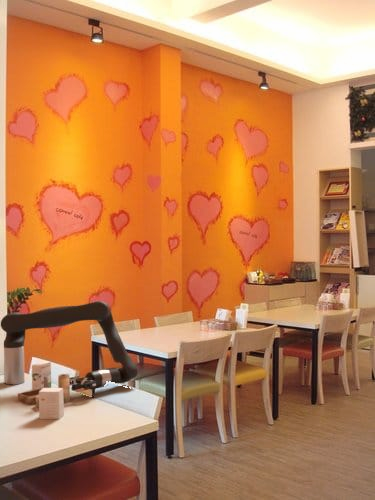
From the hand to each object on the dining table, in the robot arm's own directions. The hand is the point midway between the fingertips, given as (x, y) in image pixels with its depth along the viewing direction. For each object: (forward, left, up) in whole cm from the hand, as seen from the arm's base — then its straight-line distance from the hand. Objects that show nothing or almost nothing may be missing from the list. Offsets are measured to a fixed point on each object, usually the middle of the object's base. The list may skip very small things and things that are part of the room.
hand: (66, 385), depth 237 cm
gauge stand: (+1, -10, -6) cm, 12 cm away
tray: (-11, -8, -6) cm, 15 cm away
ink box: (-25, +3, -6) cm, 26 cm away
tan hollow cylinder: (0, -1, -6) cm, 6 cm away
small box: (+15, -16, -6) cm, 23 cm away
